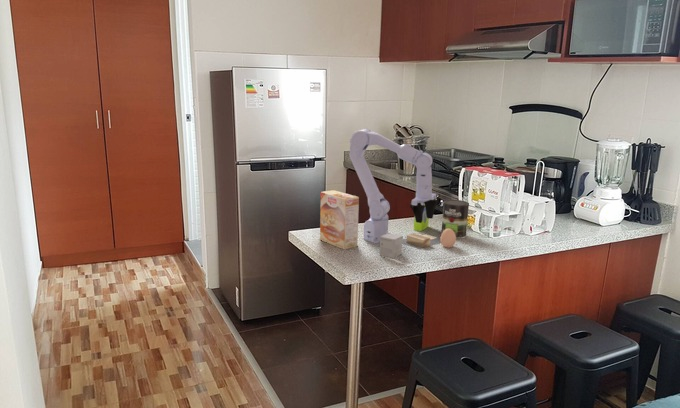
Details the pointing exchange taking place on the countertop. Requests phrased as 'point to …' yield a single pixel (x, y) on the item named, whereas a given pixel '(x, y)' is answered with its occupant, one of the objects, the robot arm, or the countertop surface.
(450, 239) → the egg
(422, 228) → the box
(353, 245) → the coffeecake box
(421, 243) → the card box
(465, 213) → the coffee can
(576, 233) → the countertop surface
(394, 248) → the product box
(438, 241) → the mat
